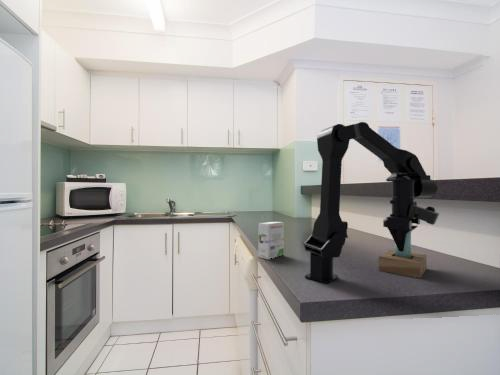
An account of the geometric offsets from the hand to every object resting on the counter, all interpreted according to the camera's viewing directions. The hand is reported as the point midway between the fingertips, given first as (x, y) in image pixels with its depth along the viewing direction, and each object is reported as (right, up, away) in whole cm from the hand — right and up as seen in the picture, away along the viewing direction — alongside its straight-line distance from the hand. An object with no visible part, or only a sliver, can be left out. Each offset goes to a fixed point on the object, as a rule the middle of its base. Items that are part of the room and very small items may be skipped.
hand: (402, 250), depth 74 cm
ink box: (-38, -6, +13) cm, 40 cm away
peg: (0, -3, 0) cm, 3 cm away
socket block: (0, -6, 0) cm, 6 cm away
